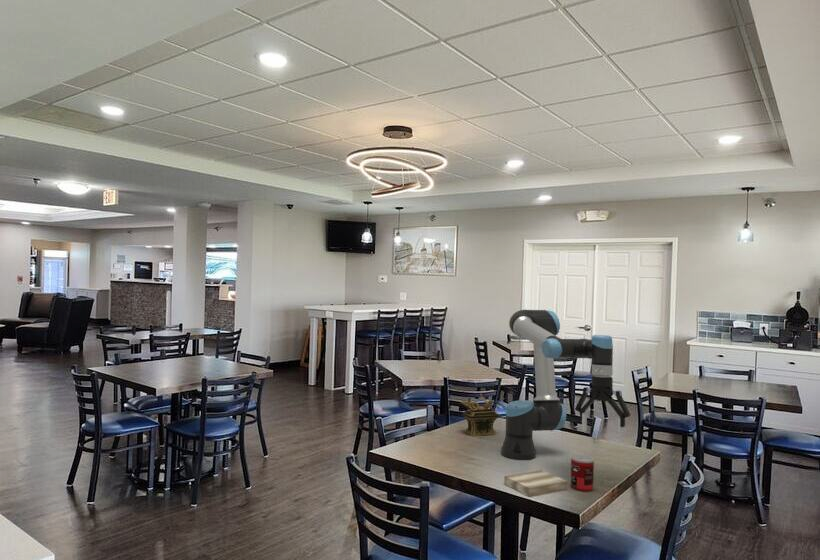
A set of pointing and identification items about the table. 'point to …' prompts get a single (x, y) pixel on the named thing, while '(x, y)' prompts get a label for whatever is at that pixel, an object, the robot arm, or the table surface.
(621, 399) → the robot arm
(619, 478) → the table surface
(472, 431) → the decorative box
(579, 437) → the table surface
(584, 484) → the canned food
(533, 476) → the pale wooden plank
